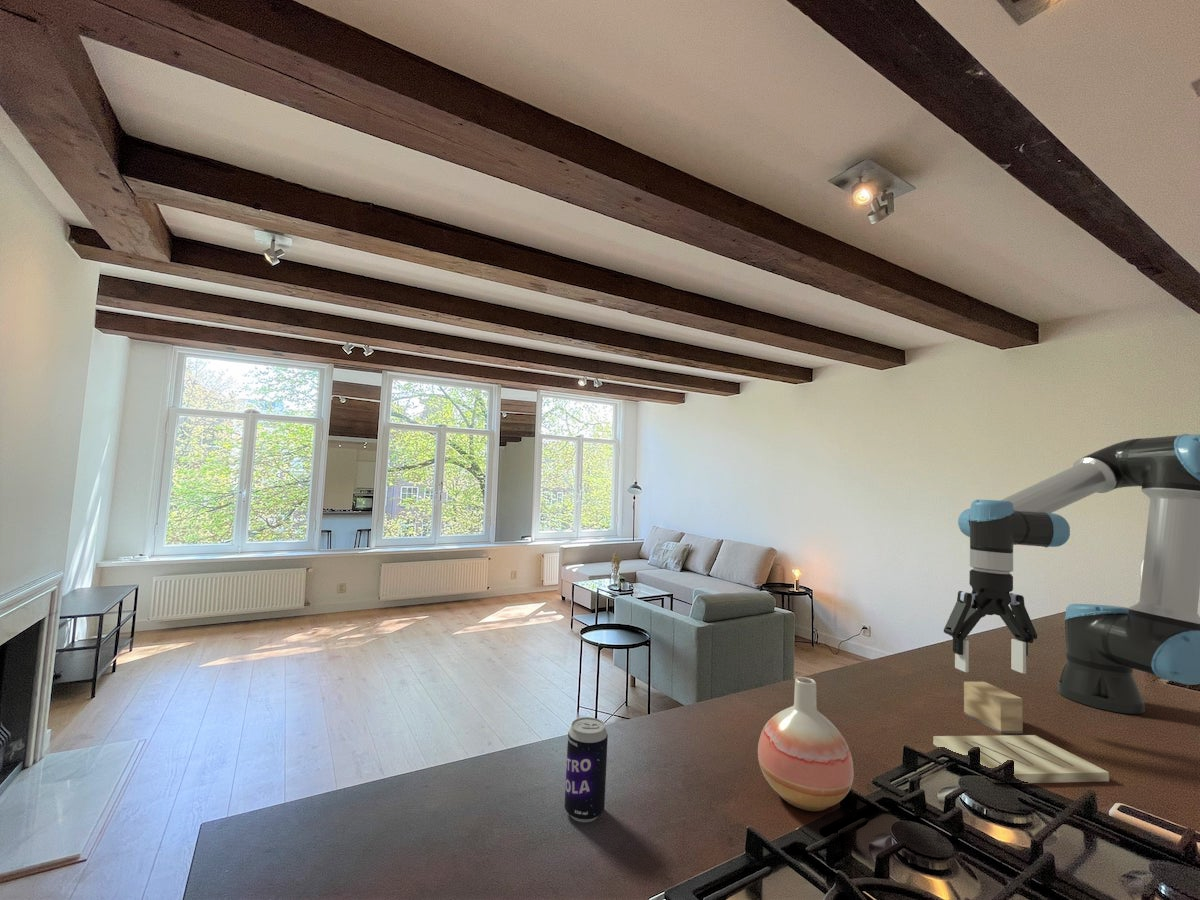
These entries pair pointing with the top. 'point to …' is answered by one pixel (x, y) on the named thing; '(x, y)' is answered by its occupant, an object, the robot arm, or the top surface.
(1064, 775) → the board
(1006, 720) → the block
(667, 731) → the top surface
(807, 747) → the vase
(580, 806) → the beverage can
